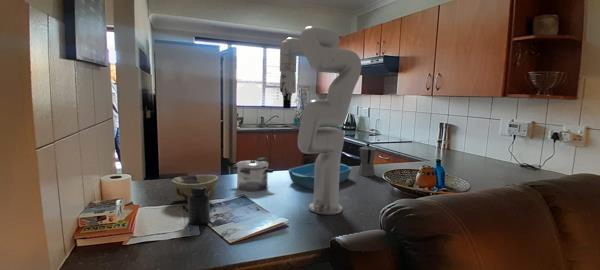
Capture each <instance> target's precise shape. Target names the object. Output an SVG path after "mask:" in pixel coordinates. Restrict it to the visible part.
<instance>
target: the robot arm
mask: <svg viewBox="0 0 600 270" xmlns="http://www.w3.org/2000/svg"><path fill="white" fill-rule="evenodd" d="M340 39H341V38H340V35H339V34H338V33H337V32H336V31H335V30H333V29H330V28H325V27H318V26H311V25H310V26H306V27H305V28H304V29H303V30H302V31H301V33H300V36H299V38H298V37H287V38H286V39H285V40H283V41H282V40H281V42H280V44H279V45H280V46H279V50H280V51H279V72H280V77H279V92H280V93H281V95H282V99H283V101H282V102H283V103H282V108H283V109H291V108H292V107H291V105H292V96H293V94H296V91H297V86H296V84H297V83H296V82H297V78H296V73H297V57H304V58H305V59H306V60H307V62H308V65H309V66H310V67H311V69H312V70H313V71H315V72H318V73H329V74H331V73H332V74H338V75H337V76H336V77H335V78H334V79H333V80H332V82H331V83H330V85H329V87H328V90H327V94H326V98H324V99H311V100H309V101H308V102H307V103H306V104H305V106H304V107H303V111H302V116H301V118H300V119H301V120H300V124H299V125H300V126H299V129H298V130H299V131H298V135H297V147H298V150H299V151H300V152H301V153H302V154H306V155H307V154H308V155H313V154H318V155H317V158H316V160H315V162H314V163H315V170H314V189H313V199H312V200H313V202H311V203H309V206H308V208H309V210H310V211H311V212H312V213H316V214H319V215H323V216H324V215H328V216H331V215H337V214H340V213H342V211H343V206H342V205H341V204H340V203H339V194H340V183H339V175H340V164H341V160H342V159H341V157H342V153H343V148H344V143H345V137H344V134H343V132H342V131H341V129H339V128H338V126H340V127H341V126H342V125H344V123H345V121H346V118H347V115H348V112H349V109H350V108H349V107H350V105H351V102H352V98H353V94H354V90H355V88H356V86H357V83H358V81H359V79H360V76H361V72H362V61H361V58H360V56H359V54H358V53H357V52H356V51H353V50H351V49H345V48H340V47H339V45H340V43H341V41H340ZM338 47H339V48H338Z"/></svg>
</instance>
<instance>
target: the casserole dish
mask: <svg viewBox="0 0 600 270" xmlns="http://www.w3.org/2000/svg"><path fill="white" fill-rule="evenodd" d="M314 170H315V162H314V163H309V164H303V165H301V166H296V167H292V168H289V169H288V174H289V177H290V181H291V182H292V183H293V184H295V185H296V186H299V187H300V186H301V187H303V188H308V189H312V190H314ZM351 170H352V167H351V166H349V165H346V164H344V163H340V175H339V184H340V183H342V182H344V181H346V180H347V179H348V178H349V176H350V174H351Z"/></svg>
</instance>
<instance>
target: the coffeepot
mask: <svg viewBox="0 0 600 270" xmlns="http://www.w3.org/2000/svg"><path fill="white" fill-rule="evenodd" d="M358 150H359V157H360V164H359V169H358V173H357V174H358V175H359V176H361V175H362V177H368V176H370V177H374V176H375V175H376V173H375V163H374V160H375V159H376V158H375V157H376V153H377V148H375V147H372V146H370V143H369V142H366V146H362V147H359V149H358Z"/></svg>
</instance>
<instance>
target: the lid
mask: <svg viewBox="0 0 600 270" xmlns="http://www.w3.org/2000/svg"><path fill="white" fill-rule="evenodd" d="M267 160H268V159H267V157H262V156H261V157H258V158H256V159H255V160H254V159H253V160H252V159H251V160H240V161H238V162H236V166H237V167H240V168H245V169H260V168H265V167H269V162H268V161H267Z"/></svg>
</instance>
